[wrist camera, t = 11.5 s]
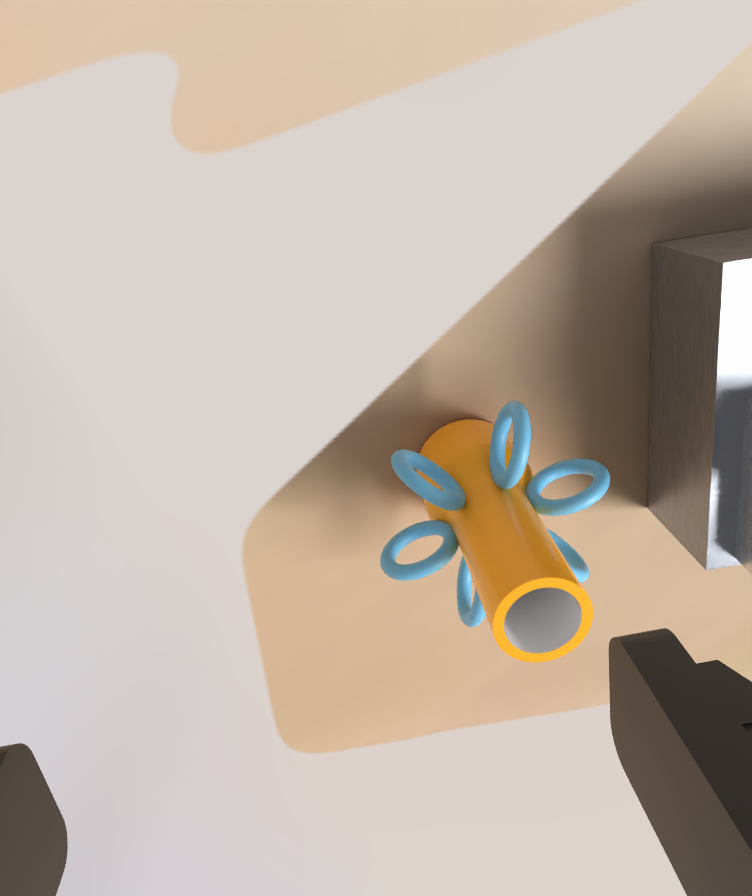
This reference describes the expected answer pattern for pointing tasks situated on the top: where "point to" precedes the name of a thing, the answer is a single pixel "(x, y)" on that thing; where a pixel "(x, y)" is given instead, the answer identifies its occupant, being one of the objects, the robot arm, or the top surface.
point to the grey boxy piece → (703, 395)
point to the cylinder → (500, 533)
